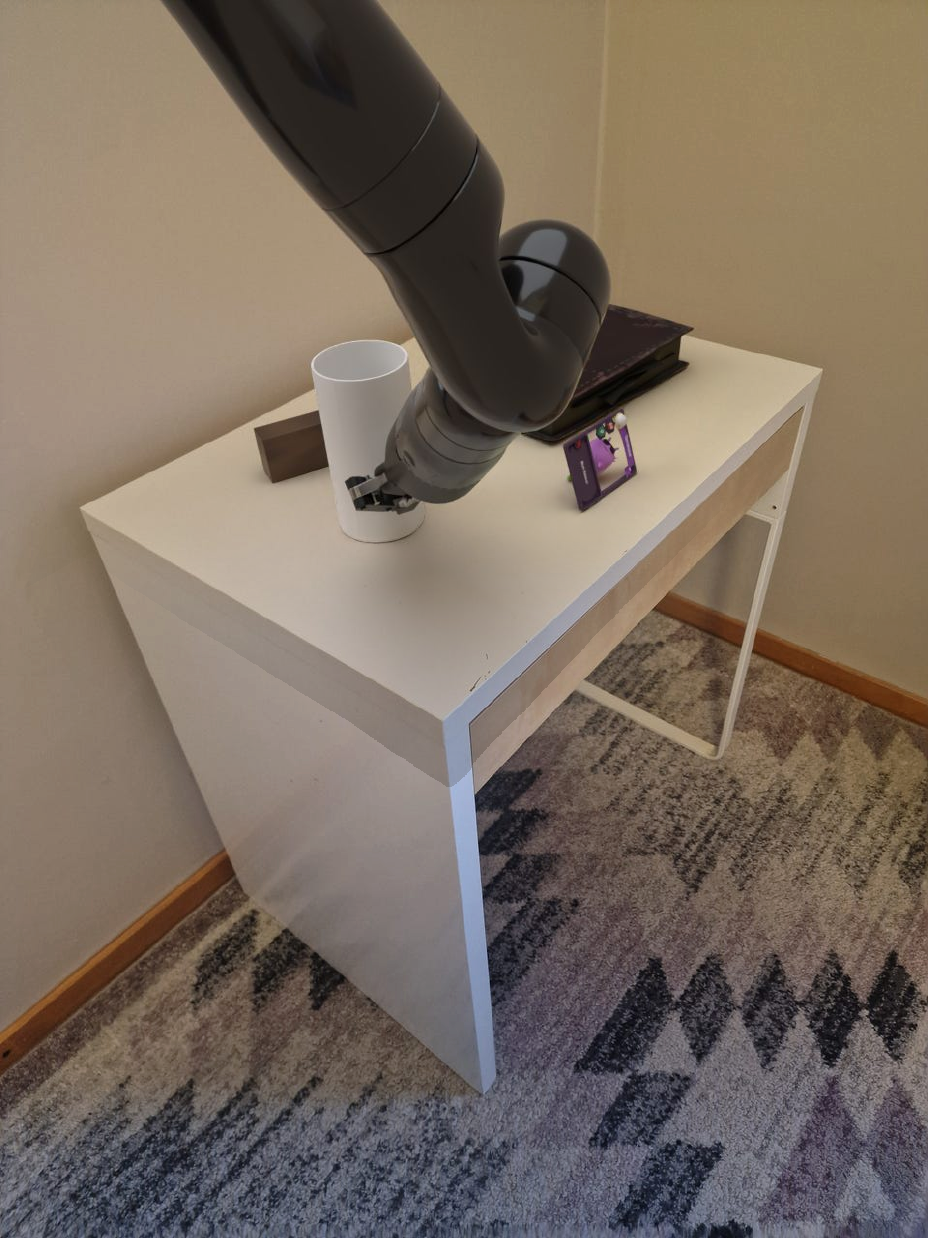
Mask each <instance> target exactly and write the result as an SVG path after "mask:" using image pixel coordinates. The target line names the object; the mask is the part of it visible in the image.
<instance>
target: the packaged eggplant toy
mask: <svg viewBox="0 0 928 1238" xmlns="http://www.w3.org/2000/svg"><path fill="white" fill-rule="evenodd" d="M627 423H628V417H627V416H626V415H625V410H624V408H618V409H616V410H615V411H613V412H611V413H610V414H608V415H607V416H606V417H604V418H602V419H601V420H599V421H597V422H596V423H595V424H593V425H591V426H589V427H588V428H586V429H585V430H583V431H582V432H581V433H579V434H577V435H576V436H575V437H572V438H571V439H569V440H568V441H566V442H565V443H563V444H562V449H563V453H564V457H565V460H566V464H567V469H568V471H569V475H568V476H567V477H566V480H567V481H571V484H572V489H573V491H574V494H575V498H576V502H577V503H576V504H577V506H578V510H579V511H582V512H583V511H586V510H587V509H589V508H590V507H592V506H593V505H594V504H595V503H597V502H599V501H600V500H601V499H602V498H604V497H605V496H606V495H608V494H609V493H610V492H612V491H613V490H615V489H616V488H618V487H619V486H620V485H622V484H623V483H625V482H626V481H627V480H629V479H630V478H631V477H633V476H635V475H636V474H637V472H638V469H637V464H636V459H635V456H634V455H635V454H634V450H633V446H632V441H631V437H630V433H629V428H628V424H627ZM615 427H616V429H617V431H618V434H619V436H620V438H621V441H622V445H623V448H624V452H625V453H624V454H625V456H626V461H627V466H626V467H624V475H622V476H621V477H620V478H618V479H617V480H615V481H614V482H613V483H611V484H610V485H609V486H607V487H606V488H604V489H602V488H601V485H600V484H601V483H600V479H599V476H598V475H600V474H601V473H603V472H605V470H607V469H608V468H609V467H610V466H611V465H612V464H613V463H614V462H616V459H618V457H617V456H615V452H616V451H619V449H620V447H614V446H613V445H612V443H611V440H612V437H608V438H606V434H608V435H611V434H612V433H614V432H615ZM593 431H595V436H596V438H594V439H592V440H590V438H589V434H590V433H592V432H593Z"/></svg>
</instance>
